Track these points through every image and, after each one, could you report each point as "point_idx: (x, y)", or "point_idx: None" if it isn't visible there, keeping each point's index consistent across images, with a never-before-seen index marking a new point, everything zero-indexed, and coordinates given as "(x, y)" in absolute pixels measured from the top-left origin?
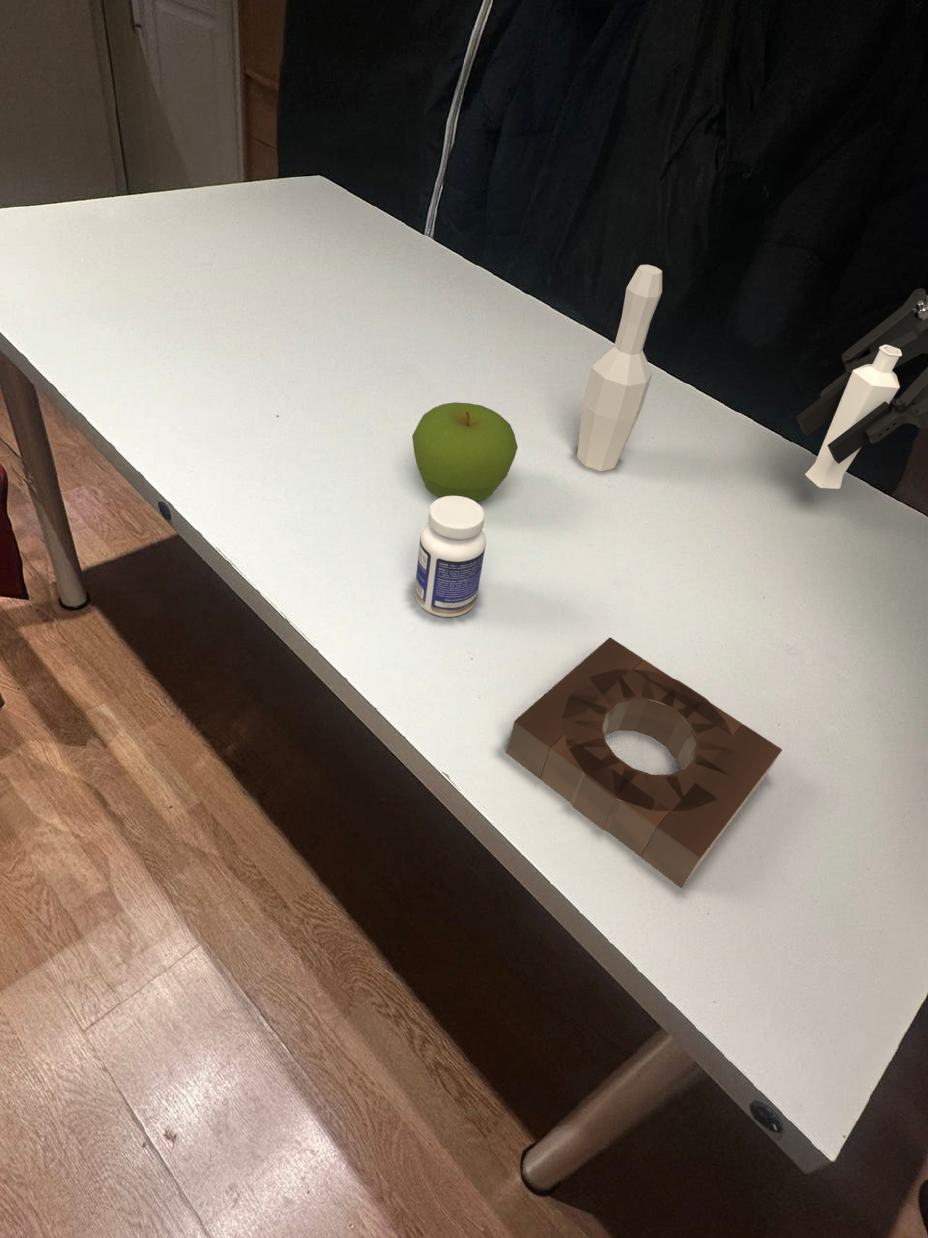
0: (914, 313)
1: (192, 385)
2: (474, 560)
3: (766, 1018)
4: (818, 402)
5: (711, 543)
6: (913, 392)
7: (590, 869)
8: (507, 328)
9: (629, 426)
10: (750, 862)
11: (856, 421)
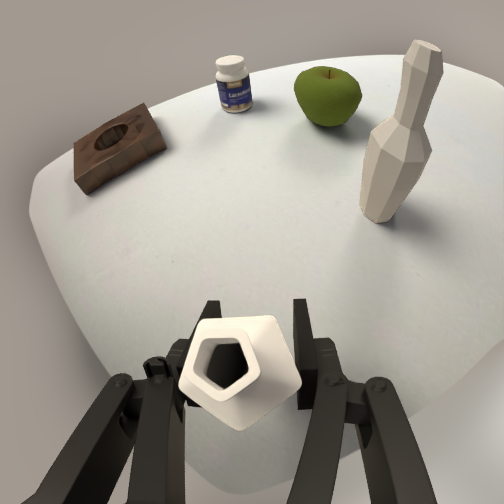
0: None
1: None
2: (216, 80)
3: (52, 169)
4: (304, 320)
5: (246, 252)
6: (151, 402)
7: None
8: None
9: (369, 182)
10: (73, 178)
11: (223, 346)
